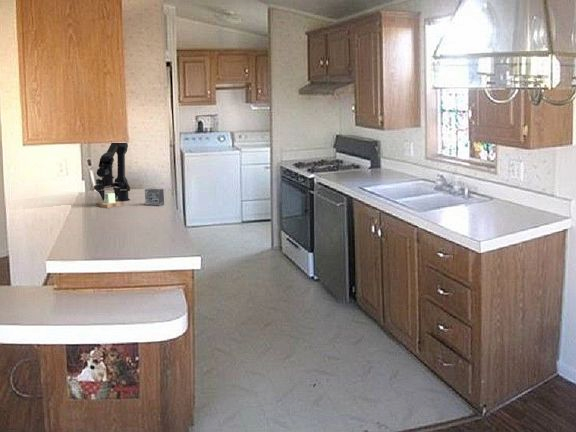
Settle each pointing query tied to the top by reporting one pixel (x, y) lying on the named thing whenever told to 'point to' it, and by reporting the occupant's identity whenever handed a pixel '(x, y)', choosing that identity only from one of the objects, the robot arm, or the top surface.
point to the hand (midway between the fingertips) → (109, 199)
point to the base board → (109, 204)
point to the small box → (154, 197)
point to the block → (109, 198)
